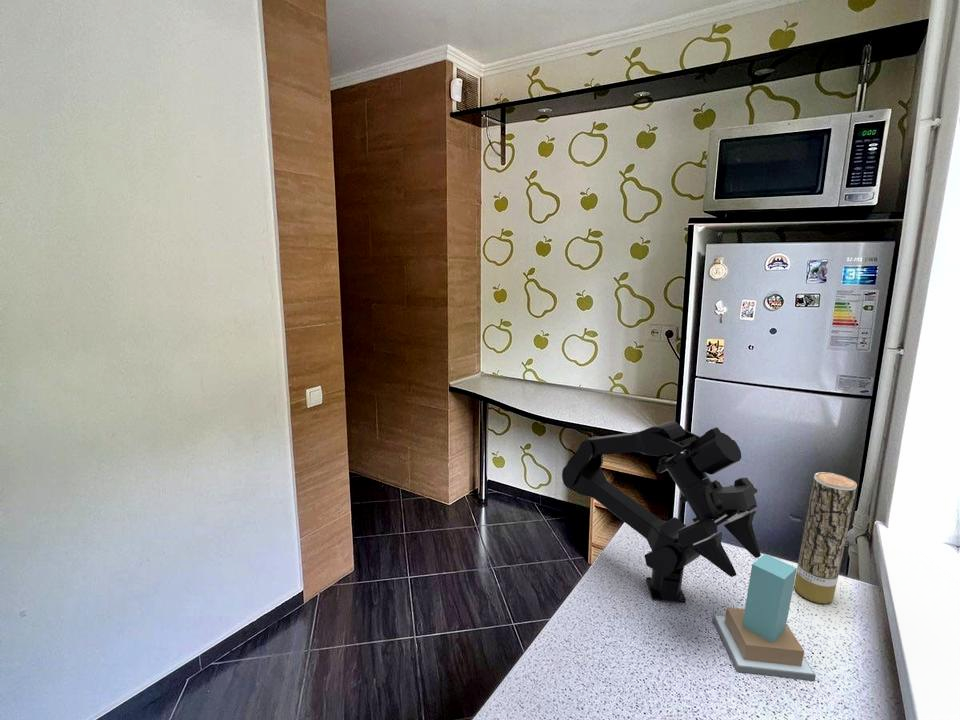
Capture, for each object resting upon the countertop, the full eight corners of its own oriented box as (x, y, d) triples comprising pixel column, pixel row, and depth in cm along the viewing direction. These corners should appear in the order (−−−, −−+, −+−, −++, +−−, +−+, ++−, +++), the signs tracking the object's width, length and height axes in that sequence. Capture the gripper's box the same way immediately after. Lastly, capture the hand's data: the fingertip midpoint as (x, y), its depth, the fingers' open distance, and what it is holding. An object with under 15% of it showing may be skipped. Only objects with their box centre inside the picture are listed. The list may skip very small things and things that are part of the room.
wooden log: (832, 610, 98) (856, 491, 93) (791, 595, 102) (812, 480, 97) (834, 592, 103) (857, 479, 98) (795, 578, 107) (815, 469, 102)
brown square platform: (712, 619, 95) (715, 600, 94) (780, 626, 93) (784, 607, 92) (736, 671, 83) (740, 650, 82) (814, 680, 82) (819, 659, 81)
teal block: (742, 625, 88) (752, 564, 85) (755, 613, 91) (765, 553, 88) (772, 643, 84) (784, 579, 81) (785, 630, 87) (796, 568, 84)
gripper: (701, 479, 83) (761, 573, 77) (753, 454, 95) (809, 534, 89) (654, 504, 91) (705, 591, 85) (707, 478, 102) (755, 553, 96)
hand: (746, 566), depth 88 cm, fingers open, 9 cm apart
